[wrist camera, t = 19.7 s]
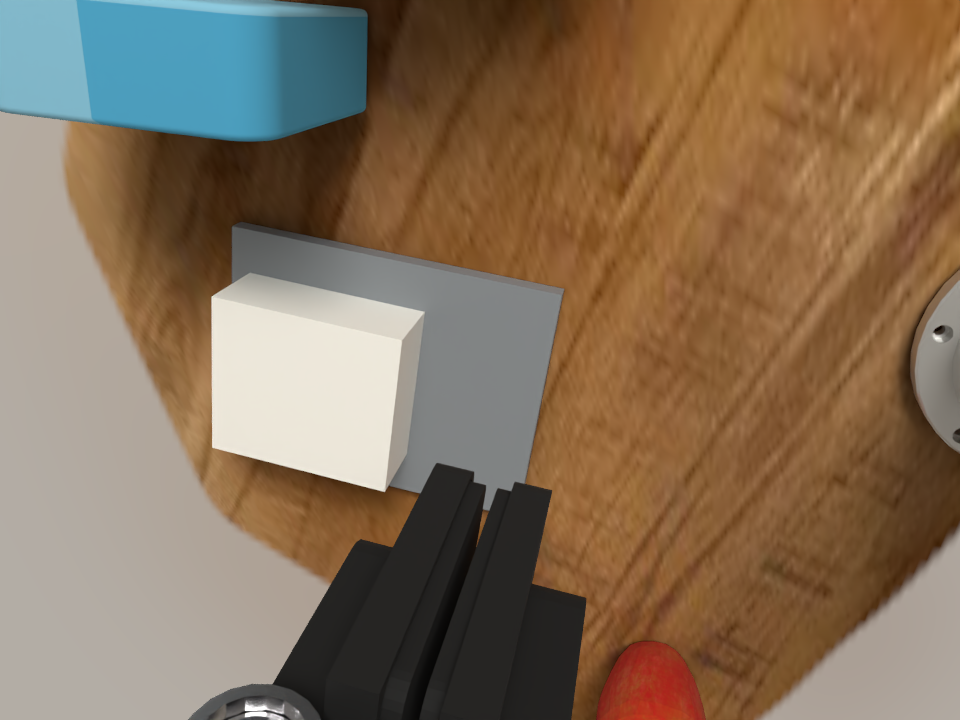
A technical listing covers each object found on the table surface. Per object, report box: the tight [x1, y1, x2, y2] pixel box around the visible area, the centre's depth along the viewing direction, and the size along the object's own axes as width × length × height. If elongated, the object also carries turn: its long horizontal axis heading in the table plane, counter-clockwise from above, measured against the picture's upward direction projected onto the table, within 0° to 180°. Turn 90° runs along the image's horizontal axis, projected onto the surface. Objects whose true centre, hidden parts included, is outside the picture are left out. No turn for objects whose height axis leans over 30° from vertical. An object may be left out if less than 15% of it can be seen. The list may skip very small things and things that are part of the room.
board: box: [232, 222, 564, 511], centre depth 43 cm, size 18×14×1 cm
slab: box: [212, 273, 425, 492], centre depth 41 cm, size 4×9×10 cm
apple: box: [596, 641, 706, 720], centre depth 45 cm, size 6×6×8 cm
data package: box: [0, 0, 368, 141], centre depth 33 cm, size 12×4×12 cm, turn 85°
